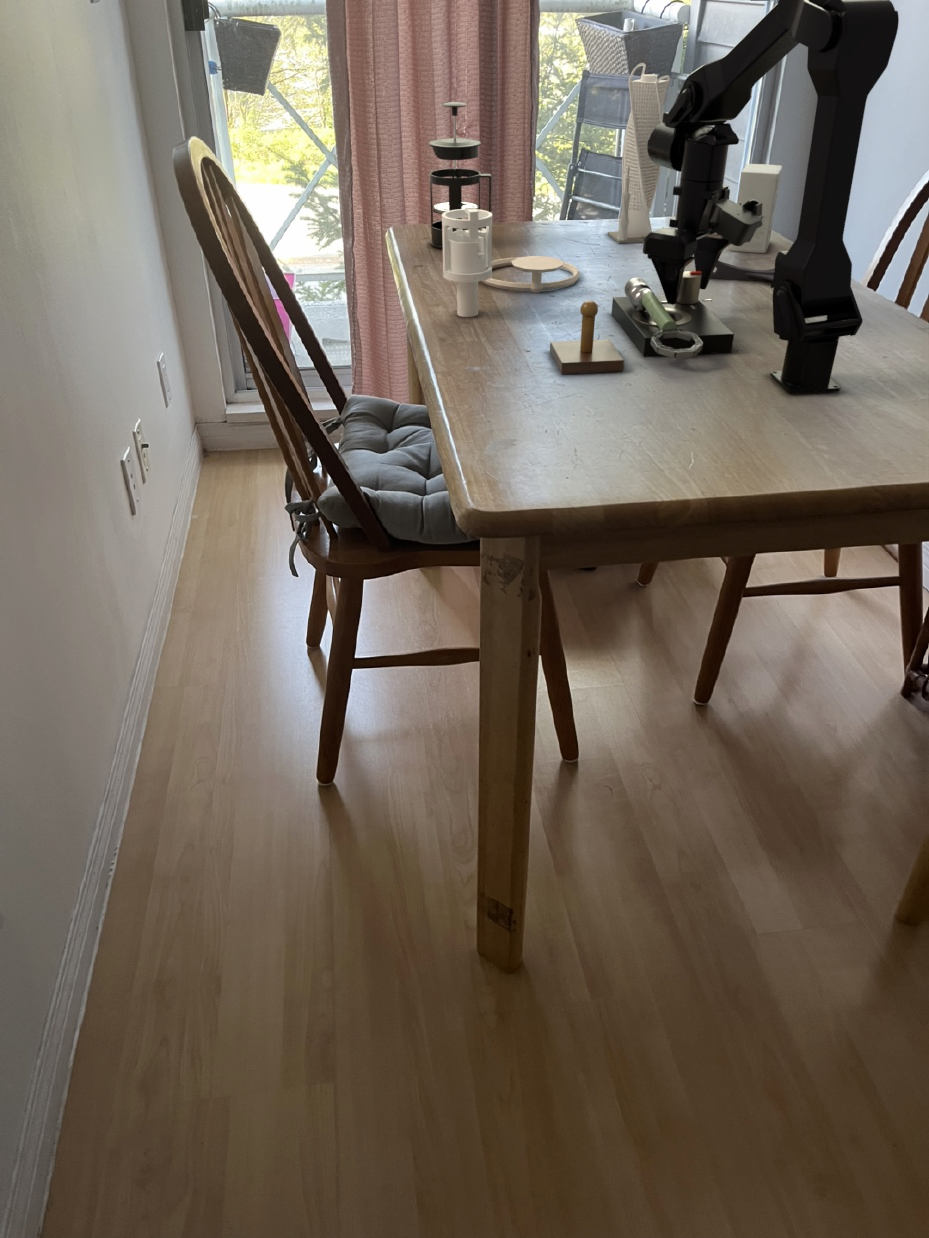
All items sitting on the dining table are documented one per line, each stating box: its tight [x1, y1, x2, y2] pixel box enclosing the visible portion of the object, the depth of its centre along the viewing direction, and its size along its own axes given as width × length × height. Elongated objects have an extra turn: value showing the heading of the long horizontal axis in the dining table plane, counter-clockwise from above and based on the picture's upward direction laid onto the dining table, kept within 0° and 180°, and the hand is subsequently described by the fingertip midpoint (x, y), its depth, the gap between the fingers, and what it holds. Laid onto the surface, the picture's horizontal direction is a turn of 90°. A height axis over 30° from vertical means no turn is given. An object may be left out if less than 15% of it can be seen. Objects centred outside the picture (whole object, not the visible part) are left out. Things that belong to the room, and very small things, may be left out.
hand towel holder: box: [481, 255, 581, 294], centre depth 153 cm, size 17×4×21 cm
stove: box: [611, 294, 735, 357], centre depth 132 cm, size 18×14×3 cm
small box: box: [730, 163, 783, 254], centre depth 167 cm, size 8×6×13 cm
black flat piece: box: [710, 259, 775, 282], centre depth 153 cm, size 14×15×3 cm
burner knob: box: [676, 270, 702, 305], centre depth 135 cm, size 3×3×4 cm
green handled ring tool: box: [623, 277, 703, 360], centre depth 127 cm, size 21×6×4 cm, turn 11°
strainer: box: [441, 207, 493, 318], centre depth 136 cm, size 7×7×15 cm
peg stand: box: [549, 299, 625, 375], centre depth 121 cm, size 8×8×8 cm
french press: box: [428, 101, 492, 251], centre depth 167 cm, size 12×9×23 cm
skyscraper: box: [607, 62, 671, 244], centre depth 169 cm, size 8×8×28 cm
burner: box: [633, 308, 692, 326], centre depth 130 cm, size 8×8×1 cm
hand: (687, 296), depth 135 cm, fingers open, 9 cm apart
